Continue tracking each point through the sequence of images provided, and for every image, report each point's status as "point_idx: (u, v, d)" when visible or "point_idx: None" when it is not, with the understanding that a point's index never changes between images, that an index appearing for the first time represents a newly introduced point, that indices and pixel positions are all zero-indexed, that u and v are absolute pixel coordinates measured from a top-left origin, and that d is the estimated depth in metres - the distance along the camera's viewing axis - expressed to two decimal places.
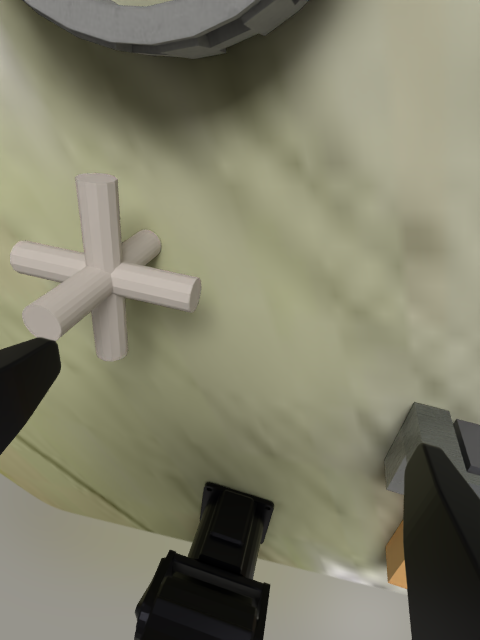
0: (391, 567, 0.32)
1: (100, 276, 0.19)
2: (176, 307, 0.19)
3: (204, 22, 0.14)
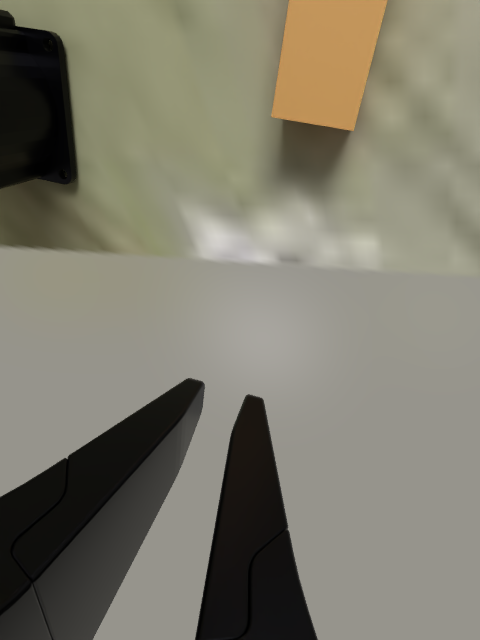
0: None
1: None
2: None
3: None
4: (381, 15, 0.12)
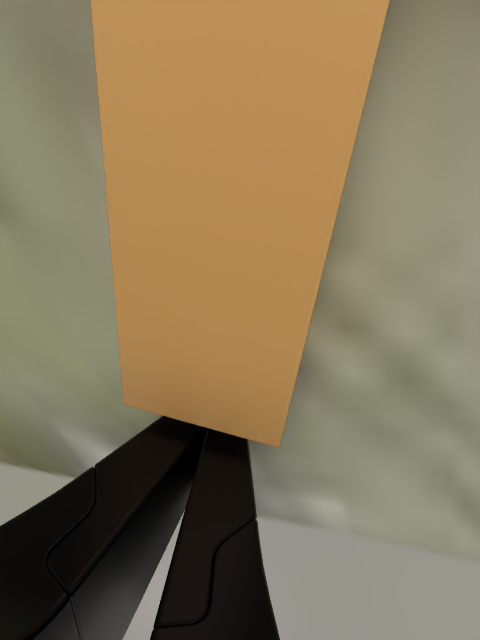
0: None
1: None
2: None
3: None
4: (314, 286, 0.05)
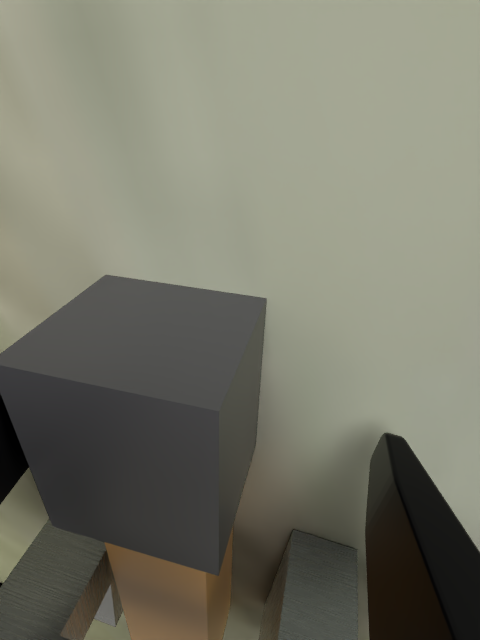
0: None
1: None
2: None
3: None
4: None
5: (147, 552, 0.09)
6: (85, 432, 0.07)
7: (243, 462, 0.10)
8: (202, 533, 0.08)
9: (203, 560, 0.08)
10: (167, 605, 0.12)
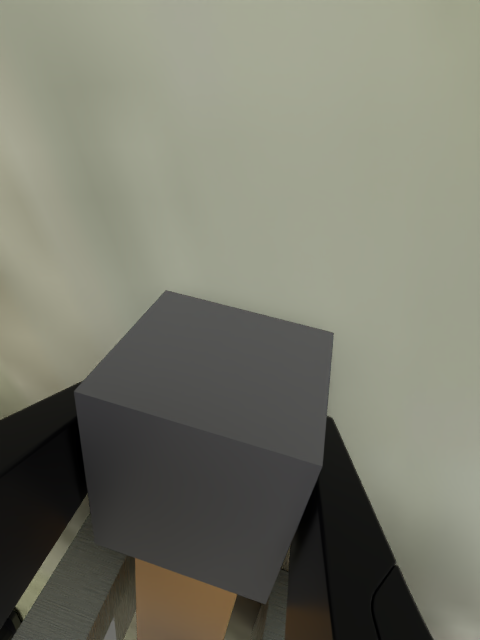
0: None
1: None
2: None
3: None
4: None
5: (194, 576, 0.09)
6: (164, 466, 0.07)
7: None
8: (262, 567, 0.08)
9: (254, 590, 0.08)
10: (186, 616, 0.12)
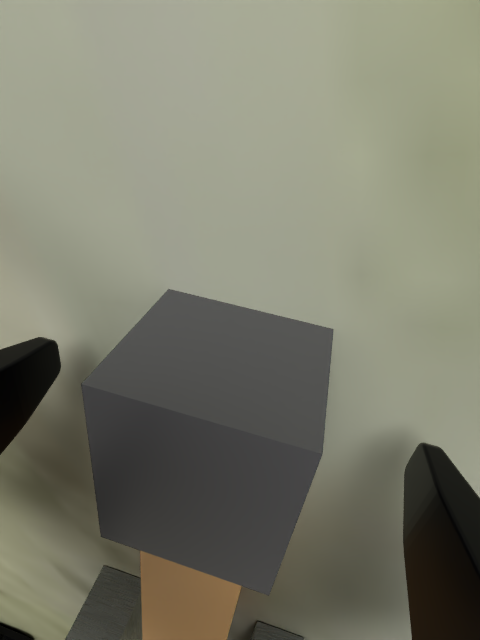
0: None
1: None
2: None
3: None
4: None
5: (198, 568, 0.09)
6: (168, 457, 0.07)
7: None
8: (265, 557, 0.08)
9: (258, 581, 0.09)
10: (191, 611, 0.12)
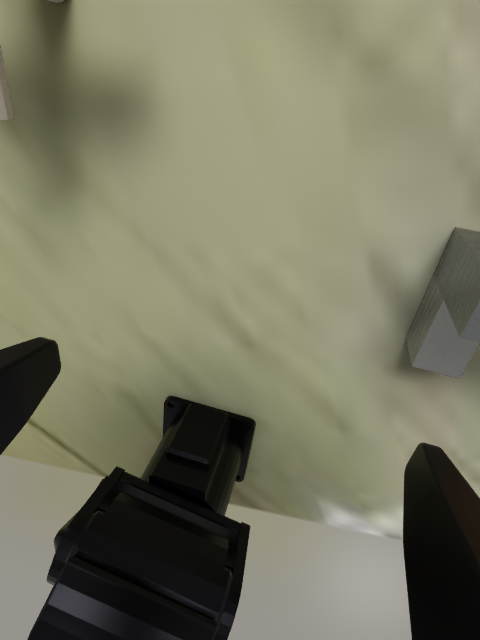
0: None
1: None
2: None
3: None
4: None
5: None
6: None
7: None
8: None
9: None
10: None
